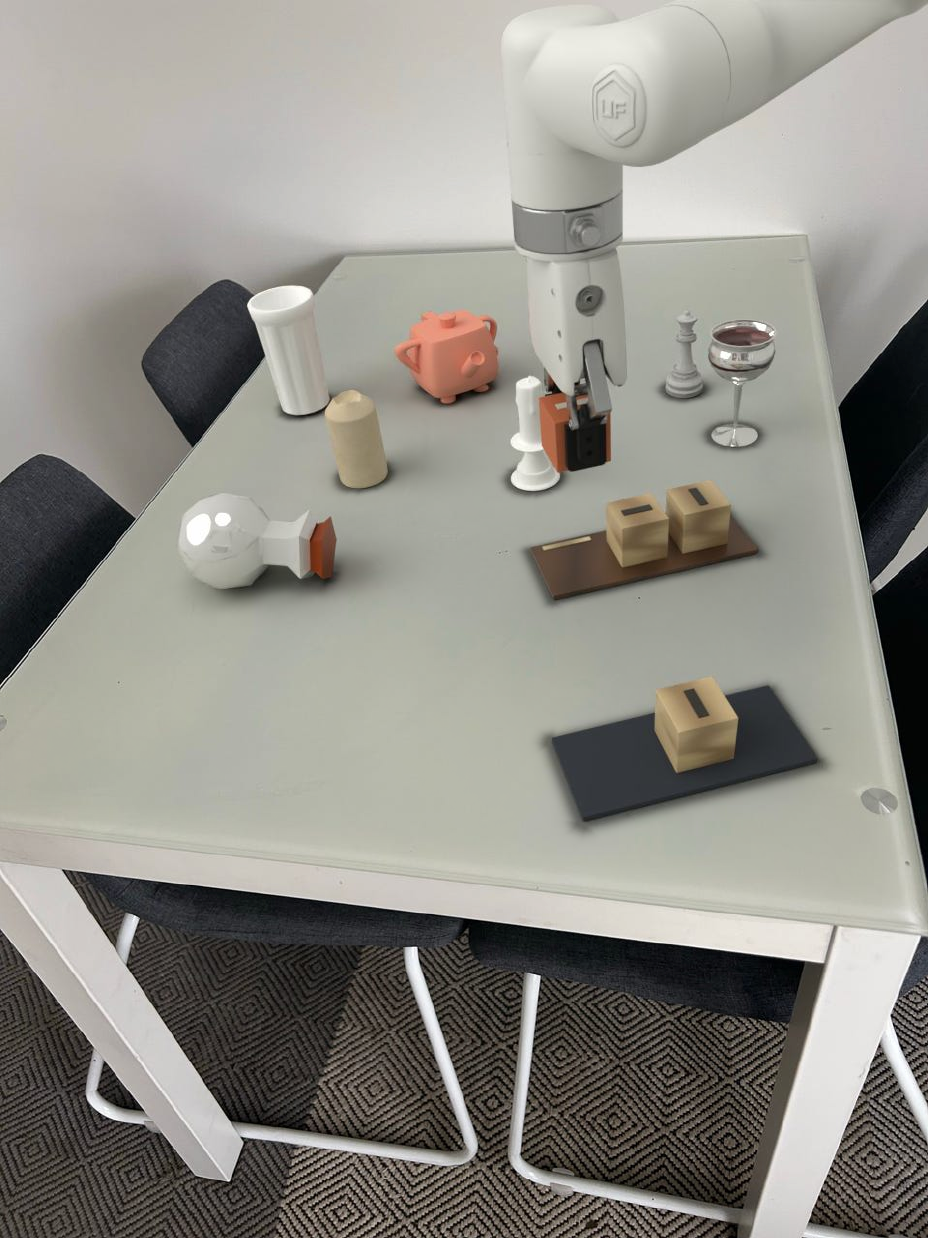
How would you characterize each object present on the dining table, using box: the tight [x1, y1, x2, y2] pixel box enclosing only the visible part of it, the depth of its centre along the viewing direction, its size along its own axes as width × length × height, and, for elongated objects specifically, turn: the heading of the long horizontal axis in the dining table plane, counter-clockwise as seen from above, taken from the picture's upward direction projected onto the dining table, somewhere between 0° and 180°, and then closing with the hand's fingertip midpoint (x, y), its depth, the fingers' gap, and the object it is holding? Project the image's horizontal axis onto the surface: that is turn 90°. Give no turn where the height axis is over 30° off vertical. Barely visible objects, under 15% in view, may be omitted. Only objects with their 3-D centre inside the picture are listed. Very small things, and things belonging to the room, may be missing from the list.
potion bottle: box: [175, 492, 338, 590], centre depth 91 cm, size 9×10×15 cm
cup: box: [246, 284, 330, 416], centre depth 116 cm, size 8×8×14 cm
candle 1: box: [324, 389, 389, 489], centre depth 103 cm, size 6×6×10 cm
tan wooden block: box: [665, 479, 732, 554], centre depth 89 cm, size 4×4×5 cm
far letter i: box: [605, 492, 669, 567], centre depth 88 cm, size 4×4×5 cm
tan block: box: [654, 675, 738, 773], centre depth 69 cm, size 4×4×5 cm
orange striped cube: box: [539, 393, 612, 474], centre depth 75 cm, size 4×4×5 cm
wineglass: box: [707, 318, 778, 448], centre depth 100 cm, size 7×7×12 cm
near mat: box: [551, 684, 819, 822], centre depth 71 cm, size 18×8×1 cm, turn 102°
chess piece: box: [665, 309, 704, 399], centre depth 110 cm, size 4×4×10 cm
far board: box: [529, 514, 759, 600], centre depth 90 cm, size 20×8×1 cm, turn 102°
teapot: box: [394, 309, 499, 404], centre depth 117 cm, size 12×12×10 cm
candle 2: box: [510, 374, 561, 492], centre depth 98 cm, size 5×5×12 cm
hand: (576, 448), depth 76 cm, fingers closed on orange striped cube, 4 cm apart
